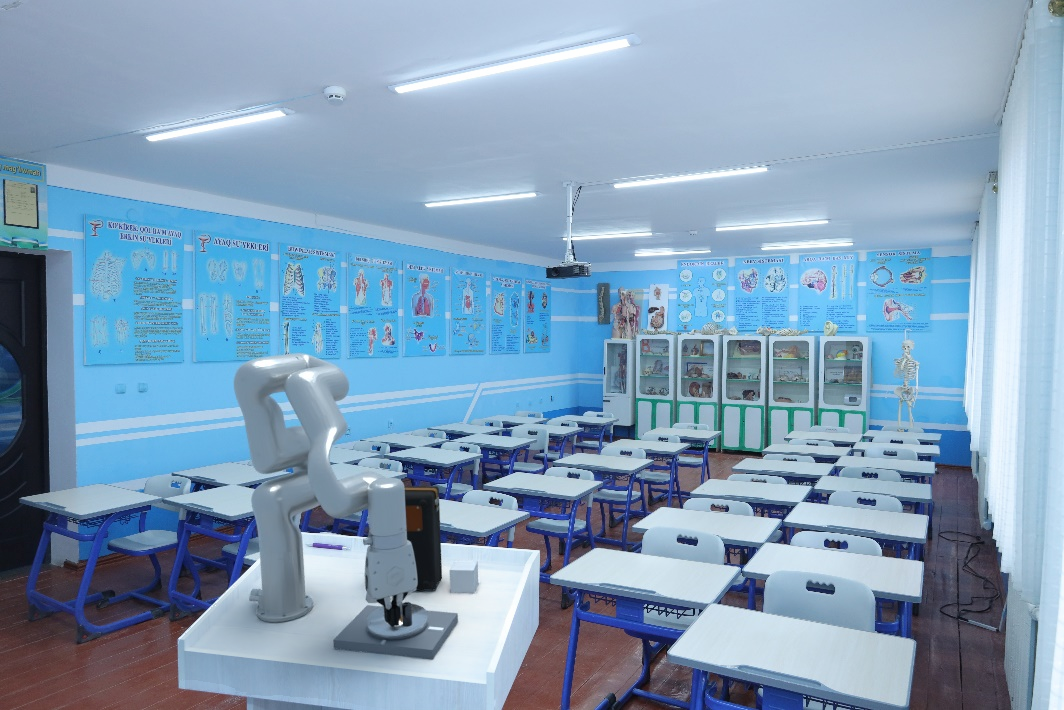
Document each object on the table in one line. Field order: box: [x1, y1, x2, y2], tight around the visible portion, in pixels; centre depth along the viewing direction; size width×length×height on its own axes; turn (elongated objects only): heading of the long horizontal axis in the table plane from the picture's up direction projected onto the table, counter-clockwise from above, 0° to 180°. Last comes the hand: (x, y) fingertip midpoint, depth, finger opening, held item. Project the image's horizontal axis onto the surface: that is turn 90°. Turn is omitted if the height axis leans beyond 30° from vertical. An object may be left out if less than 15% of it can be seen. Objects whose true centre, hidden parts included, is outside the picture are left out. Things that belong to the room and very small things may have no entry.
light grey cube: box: [449, 559, 479, 594], centre depth 177 cm, size 6×6×6 cm
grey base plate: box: [332, 604, 459, 660], centre depth 155 cm, size 22×16×2 cm
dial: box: [367, 601, 428, 640], centre depth 154 cm, size 13×13×6 cm
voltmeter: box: [404, 485, 443, 591], centre depth 178 cm, size 16×9×25 cm, turn 84°
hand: (392, 623), depth 149 cm, fingers closed
